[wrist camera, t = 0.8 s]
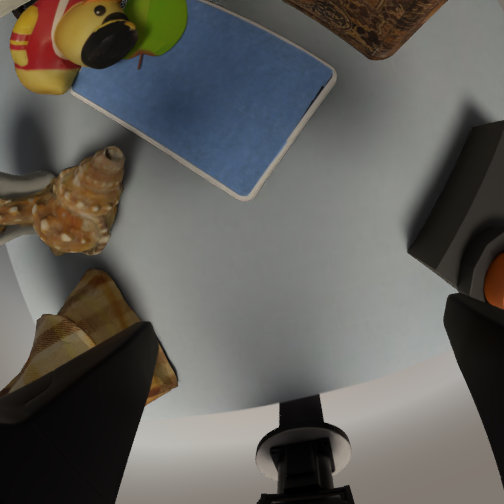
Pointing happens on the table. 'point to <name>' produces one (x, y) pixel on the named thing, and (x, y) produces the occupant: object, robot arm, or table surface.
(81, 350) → the brown cream tall piece
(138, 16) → the decorative leaf
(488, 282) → the power button
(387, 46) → the book
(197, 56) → the tablet
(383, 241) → the table surface
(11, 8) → the cosmetic box
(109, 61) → the toy
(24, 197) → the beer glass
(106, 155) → the seashell
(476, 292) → the button base
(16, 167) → the table surface
